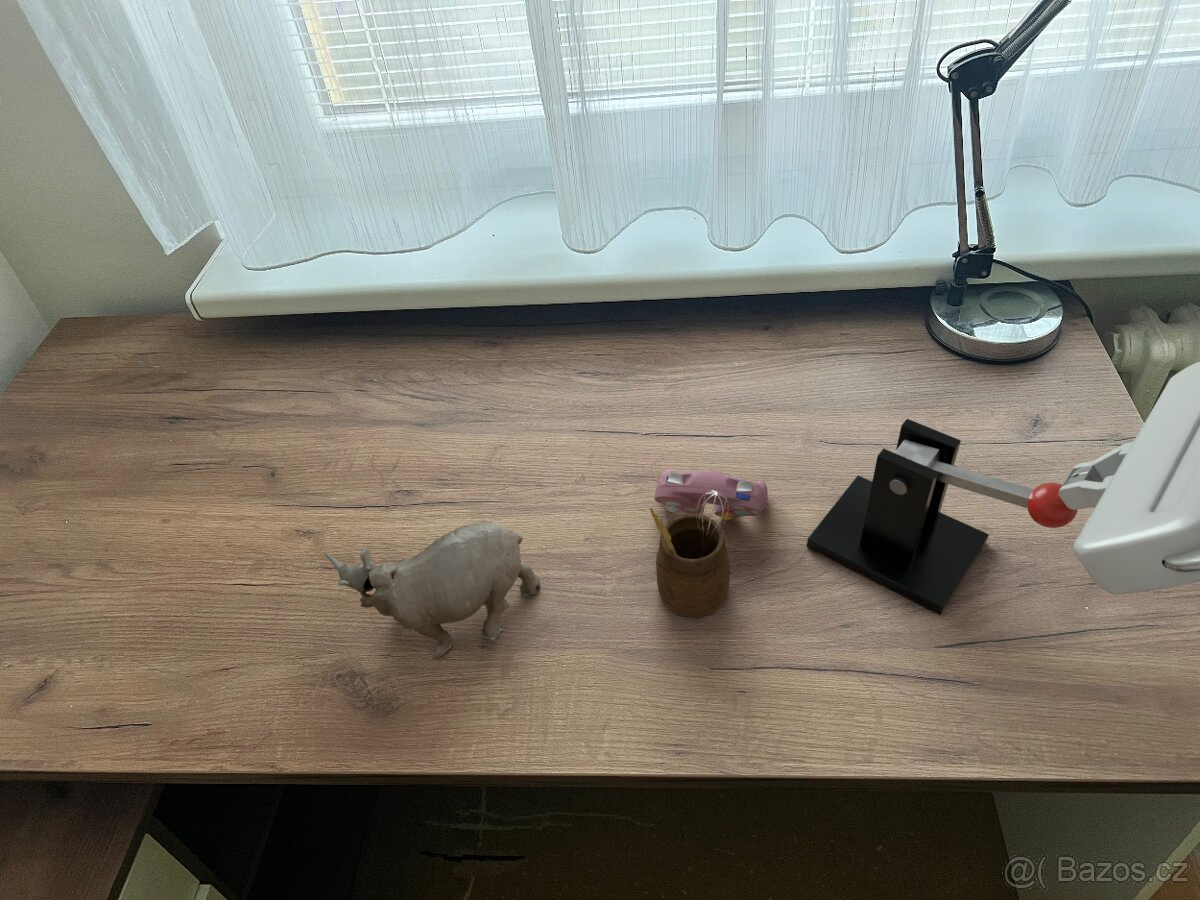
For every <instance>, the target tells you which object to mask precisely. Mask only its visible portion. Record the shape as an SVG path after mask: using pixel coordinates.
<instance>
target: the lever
mask: <svg viewBox="0 0 1200 900" xmlns="http://www.w3.org/2000/svg"><path fill="white" fill-rule="evenodd" d="M894 453H896V454H898V455H900V456H903V457H905V458H907V459H910V460H912V461H914V462H917V463H919V464H921V465H924V466H926V467H928V468H931V469H933V470H935V471H938V476H937V479H936V480H937V481H940V482H943V483H947V484H948V485H950V486H954V487H957V488H960V489H964V490H967V491H970V492H973V493H976V494H980V495H983V496H986V497H990V498H992V499H996V500H999V501H1002V502H1006V503H1009V504H1012V505H1015V506H1017V507H1021V508H1025V509H1027V512H1028V514H1029V516H1030V518H1031V519H1032V520H1033V521H1034V522H1035V523H1036V524H1037V525H1039V526H1042V527H1044V528H1047V529H1058V528H1062V527H1065V526H1067V525H1069V524H1070V523H1071V522H1073V520H1074V519H1075V518H1076V516H1077V514H1078V512H1079V509H1077V510H1072V509H1069V508H1068V507H1067V506H1066V505H1065V504H1064V502H1063V501H1062V499H1061V498H1060V496H1059V495H1058V493H1059V490H1060V489H1061V487H1062V485H1063V484H1062V483H1058V482H1046V483H1042V484H1039V485H1037V486H1036V487H1035V488H1030V487H1027V486H1024V485H1021V484H1017V483H1013V482H1011V481H1007V480H1004V479H1000V478H997V477H993V476H990V475H987V474H983V473H980V472H977V471H974V470H969V469H966V468H964V467H959V466H956V465H954V466H953V465H949V464H946V463H943V462H939V449H936V448H933V447H929V446H926V445H922V444H919V443H915V442H912V441H908V440H904V441H903V442H902V444H901V445H900V446H899V447H898V449H897V450H896V449H895V451H894Z"/></svg>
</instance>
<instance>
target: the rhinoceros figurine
mask: <svg viewBox="0 0 1200 900" xmlns="http://www.w3.org/2000/svg"><path fill="white" fill-rule="evenodd" d="M523 539H524V538H523V537H522V536H521V535H520V534H519V533H518V532H514V531H513V530H512V529H510V528H507V527H505V526H502V525H500V524H497V523H495V522H473V523H468V524H465V525H462V526H459V527H457V528H455V529H454V530H451V531H449V532H448V533H445V534H443V535H442V536H441V537H440V538H437V539H435V540H434V541H433V542H432V543H431V544H430V545H428V546H426V547H425V548H424V550H422V551H420V552H419V553H418V554H417V555H415V556H413V557H405V558H402V559H400V560H399V561H398V562H397V561H396V562H394V563H384V562H383V563H381V564H379V565H377V564H376V563H375V562H374V560H373V558H372V554H371V551H370V549H369V548H368V547H367V546H366V547H364V548H363V549H362V550H361V552H360V553H359V558H360V560H361V561H362V564H352V563H348V562H346V563H343V562H342V561H340V560H338V559H336V558H334V557H333V556H332V555H330V554H329V553H328V552H324V556H325V557H326V559H327V560H329V561H330V563H331V564H332V566H333V567H334V568H335V569H336V570H337V571H338V575H339V579H340V580H339V581H338V582H337V584H338V585H339V586H340V587H347V588H350V589H351V590H352V589H353V590H355V591H357V593H360V595H361V598H359V601H360V607H361V608H366V609H368V608H369V609H370V608H374V609H376V611H377V612H378V613H379V614H380V615H382V616H385V617H391V618H393V619H394V620H395V621H396V622H397V623H398V624H399V625H400V626H401V627H402V628H404V629H405V630H413V631H414V632H416V633H418V634H419V635H422V636H425V637H429V638H431V639H432V640H434V641H436V642H438V643H437V644H436V646H435V649H434V653H433V658H436V659H439V658H440V657H442V656H443V655H445V654H446V653H447V652H448V651H449V650H450V649H451V648H452V647H453V646H454V644H453V643H451V642H452V638H453V637H452V636H451V634H450V633H449V632H448V630H446V629H445V628H443V626H441V625H442V624H447V623H458V622H461V621H464V620H466V619H468V618H470V617H472V616H473V615H474V614H476V613H477V612H478V611H479V610H480V609H481V607H482V606H484V607H485V608H486V613H487V614H486V619H485V620H484V622H483V625H482V626H483V627H482V631H481V632H482V633H481V636H480V639H483V638H484V639H485V640H490V641H495V640H496V638H497V637H499V635H500V632H502V631H503V630H504V628H503V627H501V625H500V622H499V619H500V617H501V615H502V614H503V613H504V612H505V611H506V610H508V609H509V607H510V604H509V602H508V601H507V600H506V598H505V597H506V595H508V593H509V591H510V590H511V589H512V588H513V586H514V584H515V583H516V581H517V580H518V578H519V579H520V580H521V584H520V585H519V587H520V590H521V593H522V595H523V597H529V596H530V595H531V596H532V595H536V594H538V592H539V590H536V589H537V586H538V587H539V588H541V581H540V577H539V575H537V574H535V573H534V571H533V569H532V568H531V566H530V565H528V564H526V562H524V561H522V558H521V548H520V544H522V542H523V541H524V540H523ZM538 584H539V585H538ZM374 590H375V591H374ZM371 591H374V592H373V593H372V595H371V594H369V593H368V592H371Z"/></svg>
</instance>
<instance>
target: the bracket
mask: <svg viewBox="0 0 1200 900" xmlns="http://www.w3.org/2000/svg"><path fill="white" fill-rule="evenodd" d="M904 440H908V441H912V442H915V443H919V444H922V445H926V446H929V447H933V448H936V449H939V462H943V463H946V464H949V465H953V466H955V463H956V459H957V456H958V452H959V449H960V445H961V442H962V439H959V438H956V437H954V436H952V435H949V434H947V433H944V432H941V431H939V430H936V429H934V428H932V427H929V426H927V425H924V424H922V423H920V422H917V421H914V420H912V419H909V418H906V419H905V420H904V421H903V423H902V424H901V425H900V430H899V435H898V439H897V444H896V449H895V451H896V450H897V449H898V447H899V446H900V445H901V444H902V442H903V441H904ZM937 476H938V471H935V470H933V469H931V468H928V467H926V466H924V465H921V464H919V463H917V462H914V461H912V460H910V459H907V458H905V457H903V456H900V455H898V454H896V453H895V452H893V451H891V450H889V449H887V448H882V449H881V450H880V452H879V453H877V456H876V461H875V467H874V470H873V476H872V480H870V479H867V478H865V477H863V476H861V475H859V474H858V475H856V477H855V478H854V479H853V480H852V481H851V483H850V485H849V486H848V487H847V488H846V489H845V491H844V492H843V493H842V494H841V496H840V497H839V498H838V499H837V501H836V502H835V503H834V505H833V506H832V507H831V508H830V509H829V511H828V512H827V513H826V515H824V517H823V518H822V520H821V521H820V522H819V523H818V525H817V526H816V527H815V528H814V529H813V531H812V532H811V533H810V535H809V536H808V537H807V540H806V541H807V542H806V548H808V549H809V550H812V551H814V552H816V553H817V554H819V555H822V556H824V557H826V558H827V559H829V560H831V561H834V562H835V563H837V564H839V565H841V566H843V567H845V568H847V569H849V570H851V571H853V572H855V573H857V574H859V575H861V576H862V577H865V578H867V579H868V580H871V581H873V582H875V583H877V584H879V585H880V586H882V587H884V588H886V589H887V590H890V591H892V592H894V593H895V594H897V595H900V596H901V597H903V598H906V599H907V600H910V601H912V603H913V602H914V603H916V604H917V605H920V606H921V607H923V608H925V609H927V610H929V611H931V612H933V613H935V614H937V615H939V616H941V615H942V614H943V612H944V611H945V610H946V607H948V604H949V603H950V601H951V600H952V599H953V596H954V595H955V593H956V592H957V590H958V589H959V588H960V586H961V584H962V583H963V581H964V579H965V578H966V576H967V575H968V572H969V571H970V569H971V568H972V566H973V565H974V563H975V561H976V560H977V559H978V557H979V555H980V554H981V552H982V550H983V549H984V547H985V546H986V544H987V541H988V539H989V533H987V532H985V531H983V530H980V529H978V528H976V527H973V526H971V525H969V524H967V523H965V522H963V521H960V520H958V519H956V518H953V517H952V516H949V515H947V514H945V513H943V512H941V511H942V507H943V504H944V501H945V497H946V493H947V490H948V486H949V484H947V483H943V482H940V481H937V480H936V479H937Z"/></svg>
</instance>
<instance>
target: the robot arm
mask: <svg viewBox="0 0 1200 900" xmlns="http://www.w3.org/2000/svg"><path fill="white" fill-rule="evenodd" d="M1058 495H1059V496H1060V498H1061V499H1062V501H1063V502H1064V504H1065V505H1066V506H1067V507H1068V508H1069V509H1072V510H1077V509H1078V510H1083V509H1089V508H1093V510H1092V513H1091V514H1090V516H1089V517H1088V519H1087V520H1086V523H1085V524H1084V526H1083V528H1082V529H1081V531H1080V533H1079V534H1078V536H1077V538H1076V539H1075V541H1074V543H1073V546H1072V547H1073V552H1074V554H1075V556H1076V558H1077V559H1078V561H1079V563H1080V564H1081V565H1082V567H1083V569H1084V570H1085V571H1086V572H1087V574H1088V575H1089V577H1090V578H1091V580H1092V581H1093V582H1094V584H1095V585H1097V586H1098V587H1099V588H1100V589H1101V590H1104V591H1105V592H1106V593H1109V594H1111V595H1129V594H1135V593H1143V592H1151V591H1156V590H1162V589H1169V588H1174V587H1178V586H1179V587H1180V586H1184V585H1190V584H1194V583H1195V584H1196V583H1198V582H1200V361H1197V362H1195V363H1193V364H1190V365H1189V366H1187V367H1185V368H1183V369H1182V370H1180V371H1179V372H1177V373H1175V374H1173V376H1171V377H1170V378H1169V380H1168V381H1167V383H1166V386H1165V387H1164V389H1163V391H1162V392H1161V394H1160V396H1159V397H1158V399H1157V400H1156V403H1155V405H1154V406H1153V408H1152V409H1151V411H1150V412H1149V415H1148V416H1147V418H1146V420H1145V421H1144V423H1143V425H1142V427H1141V428H1140V430H1139V431H1138V433H1137V435H1136V437H1135V438H1134V440H1133V441H1130V442H1129V441H1128V442H1125V443H1123V444H1121V445H1119V446H1117V447H1116V448H1113V449H1112V450H1110V451H1108V452H1107V453H1104V454H1103V455H1101V456H1098V457H1097V458H1096V459H1094V460H1088V461H1085V462H1080V463H1076V464H1074V466H1073V468H1072V469H1071V471H1070V473H1069V475H1068V476H1067V478H1066V479H1065V481H1064V482H1063V484H1062V487H1061V489H1060V490H1059V493H1058Z"/></svg>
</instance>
